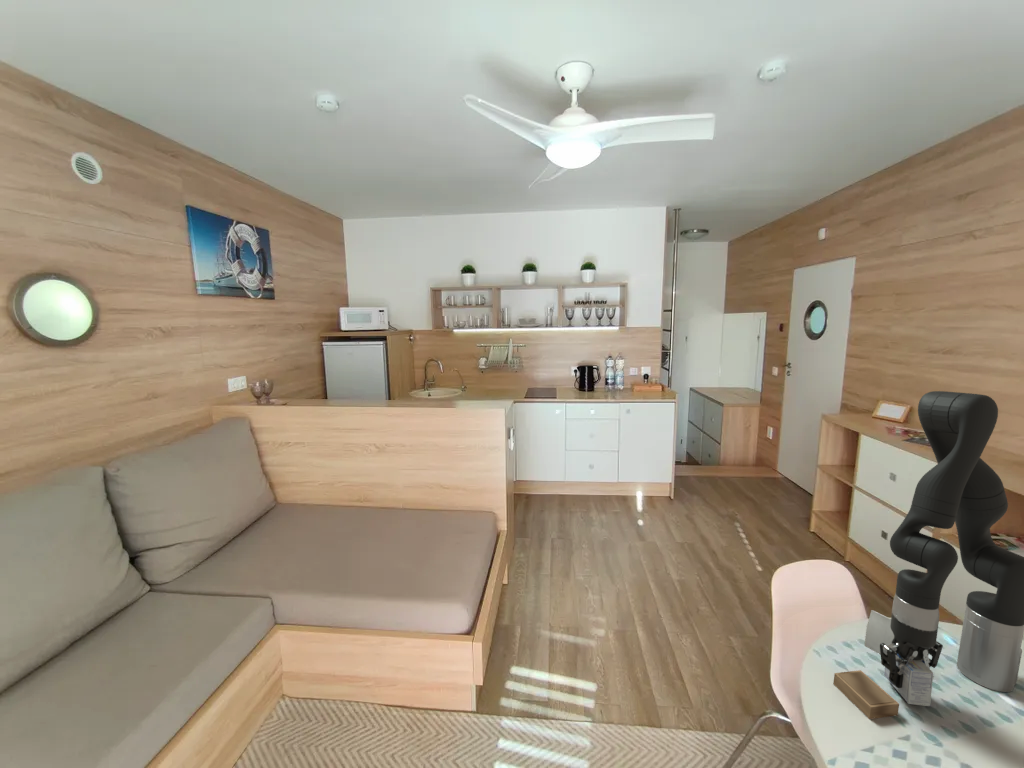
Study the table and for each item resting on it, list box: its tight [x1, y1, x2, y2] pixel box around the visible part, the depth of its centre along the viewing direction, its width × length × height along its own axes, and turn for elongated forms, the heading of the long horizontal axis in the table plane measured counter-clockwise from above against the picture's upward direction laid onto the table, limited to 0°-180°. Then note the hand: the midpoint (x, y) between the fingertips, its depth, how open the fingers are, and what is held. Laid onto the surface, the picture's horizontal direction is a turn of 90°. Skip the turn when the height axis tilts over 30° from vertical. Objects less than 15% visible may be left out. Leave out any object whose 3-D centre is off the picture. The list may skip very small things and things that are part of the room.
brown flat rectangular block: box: [832, 669, 900, 720], centre depth 95 cm, size 7×9×3 cm
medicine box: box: [883, 654, 934, 707], centre depth 95 cm, size 8×4×9 cm, turn 169°
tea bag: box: [864, 609, 894, 656], centre depth 108 cm, size 4×7×10 cm, turn 28°
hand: (906, 682), depth 95 cm, fingers closed on medicine box, 5 cm apart
